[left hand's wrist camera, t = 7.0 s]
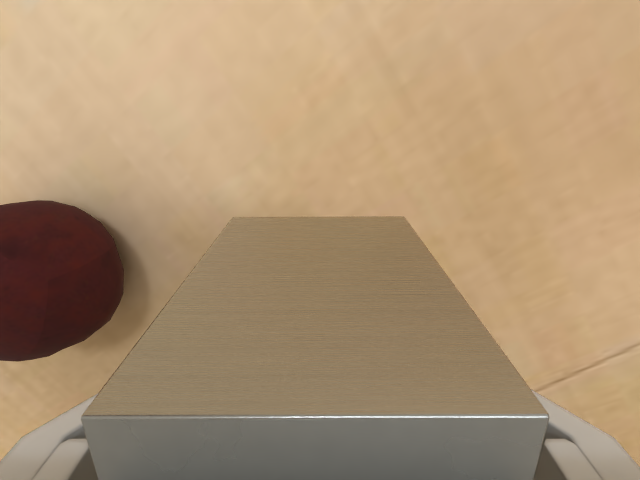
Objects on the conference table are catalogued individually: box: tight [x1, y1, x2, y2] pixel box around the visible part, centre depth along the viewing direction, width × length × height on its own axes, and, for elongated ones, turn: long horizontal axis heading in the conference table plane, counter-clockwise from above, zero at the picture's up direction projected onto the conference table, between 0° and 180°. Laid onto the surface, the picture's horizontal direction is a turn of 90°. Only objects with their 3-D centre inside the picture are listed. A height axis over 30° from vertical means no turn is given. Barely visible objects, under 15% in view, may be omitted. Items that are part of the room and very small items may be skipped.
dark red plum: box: [0, 201, 124, 361], centre depth 18 cm, size 7×8×7 cm
